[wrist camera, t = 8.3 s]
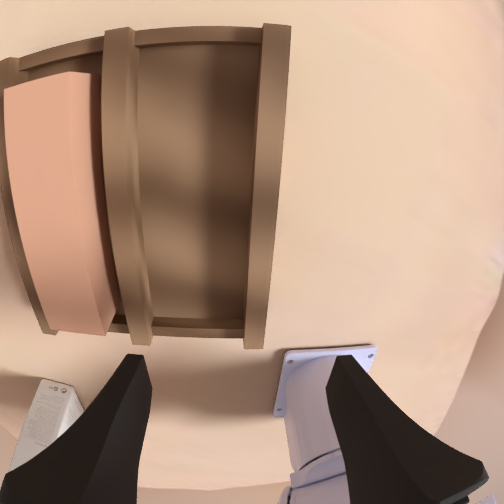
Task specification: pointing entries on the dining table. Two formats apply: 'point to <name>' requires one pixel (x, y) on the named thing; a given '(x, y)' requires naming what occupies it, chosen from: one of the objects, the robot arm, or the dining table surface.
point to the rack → (180, 172)
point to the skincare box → (46, 420)
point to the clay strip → (62, 198)
